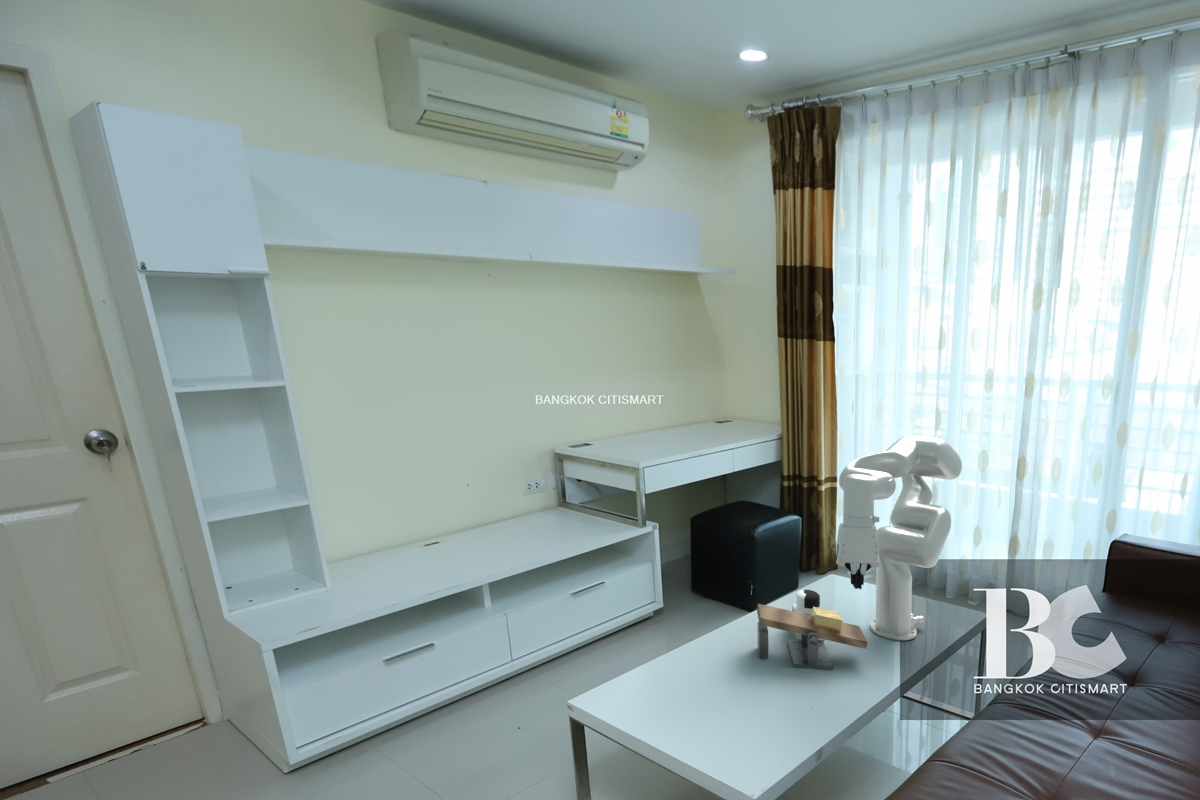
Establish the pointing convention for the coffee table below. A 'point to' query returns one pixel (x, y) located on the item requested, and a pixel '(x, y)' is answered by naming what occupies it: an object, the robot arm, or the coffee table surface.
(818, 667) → the stand
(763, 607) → the beam
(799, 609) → the container
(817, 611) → the slider
